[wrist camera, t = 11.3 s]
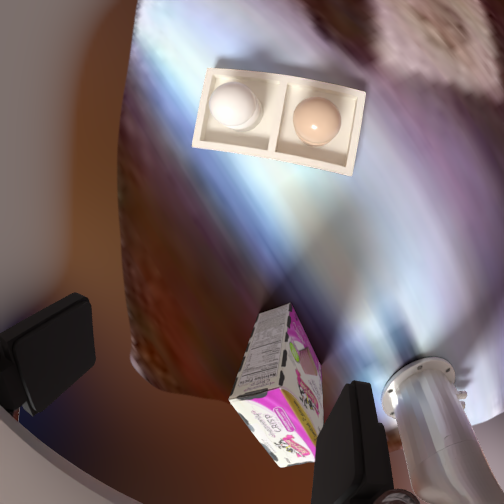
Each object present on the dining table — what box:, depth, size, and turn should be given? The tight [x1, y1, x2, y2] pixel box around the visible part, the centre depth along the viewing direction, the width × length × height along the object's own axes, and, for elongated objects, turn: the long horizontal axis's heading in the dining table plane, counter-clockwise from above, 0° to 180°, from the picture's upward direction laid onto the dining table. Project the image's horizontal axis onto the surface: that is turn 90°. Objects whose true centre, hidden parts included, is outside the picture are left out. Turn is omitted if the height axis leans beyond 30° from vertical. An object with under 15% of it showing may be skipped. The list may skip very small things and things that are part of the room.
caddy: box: [192, 68, 366, 176], centre depth 29 cm, size 18×10×2 cm, turn 80°
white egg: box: [209, 82, 263, 132], centre depth 27 cm, size 5×5×7 cm
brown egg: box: [293, 96, 341, 147], centre depth 26 cm, size 5×5×7 cm
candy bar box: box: [229, 303, 324, 467], centre depth 29 cm, size 11×5×16 cm, turn 27°
